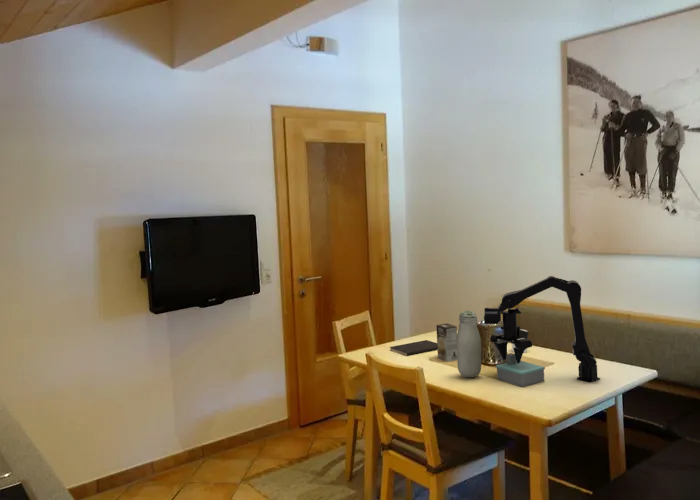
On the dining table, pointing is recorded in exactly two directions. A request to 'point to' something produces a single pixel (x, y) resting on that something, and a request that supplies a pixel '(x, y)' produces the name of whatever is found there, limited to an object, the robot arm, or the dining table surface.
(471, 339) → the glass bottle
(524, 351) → the white cup
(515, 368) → the lid
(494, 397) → the dining table surface
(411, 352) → the hardcover book
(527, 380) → the parts tub
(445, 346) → the coffee box
